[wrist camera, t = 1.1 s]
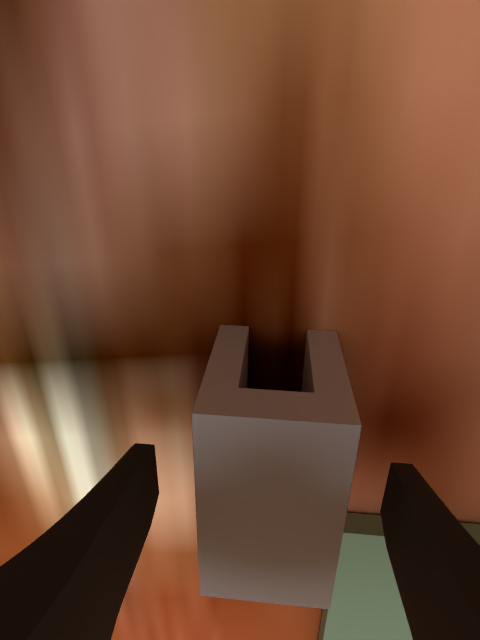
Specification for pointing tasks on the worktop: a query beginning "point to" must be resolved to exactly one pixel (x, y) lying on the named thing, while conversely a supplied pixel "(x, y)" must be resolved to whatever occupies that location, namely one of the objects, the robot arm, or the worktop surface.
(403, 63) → the worktop surface
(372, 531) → the board
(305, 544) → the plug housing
